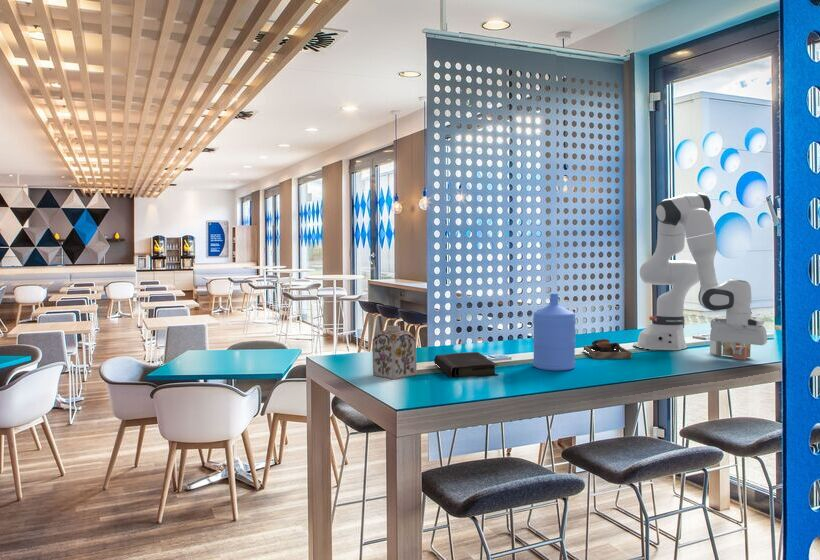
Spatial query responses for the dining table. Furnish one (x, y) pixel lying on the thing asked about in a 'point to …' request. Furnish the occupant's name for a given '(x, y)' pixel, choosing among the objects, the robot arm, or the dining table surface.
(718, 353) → the light grey slab
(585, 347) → the frame
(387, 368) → the decorative jar
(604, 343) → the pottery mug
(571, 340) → the water jug
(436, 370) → the dining table surface
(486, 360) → the diary
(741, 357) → the salmon pink block
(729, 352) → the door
